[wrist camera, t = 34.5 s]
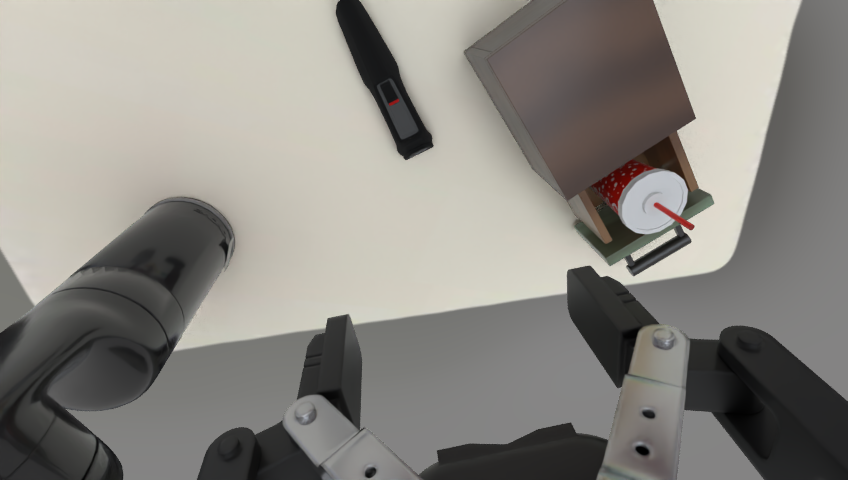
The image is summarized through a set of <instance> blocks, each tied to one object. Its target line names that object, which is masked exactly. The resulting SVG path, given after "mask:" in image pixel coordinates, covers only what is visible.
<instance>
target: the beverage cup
mask: <svg viewBox="0 0 848 480" xmlns="http://www.w3.org/2000/svg"><path fill="white" fill-rule="evenodd" d="M590 188H591V189H592V190H593V191H594V192H595V193H596V194H597V195H598V196H599V197H600V198H601V199H602V200H603V201H604V202H605V203H606V204H607V205H608V206H609V207H610V208H611V209H612V210H614V211H615V212H616V213H617V214H618V215H619V217H620V219H621V221H622V223H623V224H625V226H626V227H628V228H629V229H631V230H632V231H634V232H635V233H640V234H651V233H655V232H660V231H661V230H663V229H665V228H666V227H668V226H670V225H671V224H672V223H673V222H674V221H677V222H678V223H680V224H681V225H683V226H684V227H686V228H688V229H689V230H693V229H694V225H693V224H691V223H690V222H688V221H686V220H685V219H683V218H682V217H680V215H681V213H682V211H683V209H684V207H685V205H686V203H687V194H688V189H687V187H686V184H685V181H684V179H682V178H681V177H680V176H678V175H677V174H676V173H674V172H671V171H669V170H664V169H658V168H654V167H652V166H649V165H646V164H644V163H641V162H639V161H636V160H634V159H632V160H630V161H629V162H627V163H626V164H624V165H623V166H621V167H619V168H618V169H616V170H615V171H613V172H612V173H610V174H609V175H607V176H605V177H604V178H602V179H601V180H599V181H598V182H596V183H595V184H593V185H591V186H590Z"/></svg>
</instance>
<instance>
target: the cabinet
mask: <svg viewBox="0 0 848 480" xmlns="http://www.w3.org/2000/svg"><path fill="white" fill-rule="evenodd" d="M464 54H465V56H466V57H467V59H468V61H469V62H470V64H471V66H472V67H473V69H474V71H475V72H476V74H477V76H478V78H479V79H480V81H481V83H482V84H483V86H484V88H485V89H486V91H487V93H488V94H489V96H490V98H491V100H492V101H493V103H494V105H495V106H496V108H497V110H498V111H499V113H500V115H501V116H502V118H503V120H504V121H505V123H506V125H507V127H508V128H509V130H510V132H511V133H512V135H513V137H514V138H515V140H516V142H517V143H518V145H519V147H520V148H521V150H522V152H523V154H524V155H525V157H526V159H527V160H528V162H529V164H530V165H531V167H532V169H533V170H534V171H535V172H536V173H538V174H539V175H540V176H541V177H542V178H543V179H544V180H545V181H546V182H547V183H549V184H550V185H551V186H552V187H553V188H554V189H555V190H556V191H557V192H558V193H559V194H561V195H562V196H563V197H564V198H565V199H566V200H567V201H568V200H570V199H571V198H573V197H574V196H576V195H577V194H579V193H581V192H582V191H584V190H585V189H587V188H588V187H590V186H591V185H593V184H595V183H596V182H598V181H599V180H601V179H602V178H604V177H605V176H607V175H609V174H610V173H612V172H613V171H615V170H616V169H618V168H619V167H621V166H623V165H624V164H626V163H627V162H629V161H630V160H632V159H633V158H635V157H637V156H638V155H640V154H641V153H643V152H644V151H646V150H647V149H649V148H651V147H652V146H654V145H655V144H657V143H658V142H660V141H661V140H663V139H665V138H666V137H668V136H669V135H671V134H672V133H674V132H675V131H677V130H679V129H680V128H682V127H683V126H685V125H686V124H688V123H689V122H691V121H693V120H694V119H695V118H696V117H695V114H694V112H693V109H692V106H691V103H690V101H689V98H688V95H687V93H686V90H685V87H684V84H683V82H682V79H681V76H680V73H679V71H678V68H677V65H676V62H675V60H674V57H673V54H672V51H671V49H670V46H669V43H668V40H667V38H666V35H665V32H664V29H663V27H662V24H661V21H660V18H659V16H658V13H657V10H656V7H655V5H654V2H653V0H532V1H531V2H529V3H528V4H527V5H525V6H524V7H523V8H521V9H520V10H519V11H517V12H516V13H515V14H513V15H512V16H511V17H509V18H508V19H507V20H505V21H504V22H503V23H501V24H500V25H499V26H497V27H496V28H495V29H493V30H492V31H491V32H489V33H488V34H487V35H485V36H484V37H483V38H481V39H480V40H479V41H477V42H476V43H475V44H473V45H472V46H471V47H469V48H468V49H467V50H465V51H464Z"/></svg>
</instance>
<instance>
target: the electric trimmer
mask: <svg viewBox="0 0 848 480" xmlns="http://www.w3.org/2000/svg"><path fill="white" fill-rule="evenodd" d="M336 15H337V19H338V22H339V24H340V27H341V29H342V32H343V34H344V37H345V39H346V42H347V44H348V46H349V49H350V51H351V54H352V56H353V59H354V61H355V64H356V66H357V69H358V71H359V73H360V75H361V78H362V80H363V82H364V84H365V85H366V86H367V88H368V89H369V90H370V92H371V93H372V95H373V97H374V98H375V100H376V102H377V104H378V106H379V108H380V110H381V112H382V114H383V116H384V118H385V121H386V123H387V125H388V127H389V129H390V132H391V134H392V136H393V138H394V140H395V142H396V145H397V151H398V152H399V153H400V155H402V156H404V159H405V160H408V159H410V158H412V157H414V156H416V155H418V154H420V153H422V152H424V151H426V150H428V149H430V148H432V147H433V143H432V136H431V134H430V133H429V132H428V131H427V130H426V128H425V126H424V124H423V123H422V121H421V119H420V117H419V115H418V113H417V111H416V109H415V107H414V106H413V104H412V102H411V100H410V98H409V96H408V94H407V92H406V89H405V87H404V85H403V83H402V80H401V77H400V74H399V69H398V66H397V63H396V61H395V59H394V58H393V56H392V54H391V52H390V51H389V49H388V47H387V45H386V44H385V42H384V40H383V39H382V37H381V35H380V33H379V32H378V30H377V28H376V27H375V25H374V23H373V21H372V20H371V18H370V16H369V14H368V13H367V11H366V10H365V8H364V7H363V5H362V4H361V2H360V1H359V0H340V1H339V2H338V4H337V7H336Z"/></svg>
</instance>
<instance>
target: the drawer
mask: <svg viewBox="0 0 848 480" xmlns="http://www.w3.org/2000/svg"><path fill="white" fill-rule="evenodd" d="M633 159H634V160H636V161H639V162H641V163H644V164H646V165H649V166H652V167H654V168H658V169H664V170H669V171H671V172H674V173H676V174H677V175H678V176H680V177H681V178H682V179H684V181H685V184H686V187H687V189H688V194H687V203H686V205H685V207H684V209H683V211H682V213H681V215H680V217H682V218H683V219H685V220H688V219H690V218H691V217H693V216H695V215H696V214H698V213H700V212H701V211H703V210H705V209H706V208H708V207H710V206H711V205H713V204H714V201H713V199H712V196H711V195H710V194H709V193H707V192H705V191H703V190H701V189H699V187H698V185H697V182H696V179H695V177H694V174H693V172H692V169H691V167H690V164H689V162H688V159H687V157H686V154H685V151H684V149H683V146H682V144H681V141H680V139H679V136H678V134H677V131H675V132H674V133H672V134H671V135H669V136H668V137H666V138H665V139H663V140H661V141H660V142H658V143H657V144H655V145H654V146H652V147H651V148H649V149H647V150H646V151H644V152H643V153H641V154H640V155H638V156H637V157H635V158H633ZM567 202H568V203H569V205H570V207H571V209H572V210H573V212H574V214H575V216H576V217H577V218H579V219H580V220H581V221H582V222H580V223H579V224H577V225H575V226H574V227H575V229H576V231H577V232H578V234H579V235H580V236H581V237H582V238H583V239H584V240H585V241H586V242H587V243H588V244H589V245H590V246H591V247H592V248H593V249H594V250H595V251H596V252H597V253H598V254H599V255H600V256H601V257H602V258H603V259H604V260H605V262H606V263H607V264H608V265H609V266H611V265H613V264H615V263H616V262H618V261H620V260H621V259H623V258H625V260H626V262H627V264H628V265H627V266H626V267H627V269H628V271H629V272H630V273H631V275H633V276H635V275H637V274H639V273H640V272H642V271H644V270H645V269H647V268H649V267H651V266H652V265H654V264H656V263H657V262H659V261H661V260H662V259H664V258H666V257H667V256H669V255H671V254H673V253H674V252H676V251H678V250H679V249H681V248H683V247H684V246H686V245H688V244H690V243H691V239H690V237H689V236H688V235H687V234H686V233H684V232H683V229H682V227H681V225H680V223H678V222H677V221H674V222H673V223H672V224H671V225H670V226H668V227H666V228H665V229H663V230H661V231H660V232H655V233H651V234H640V233H635V232H634V231H632V230H631V229H629V228H628V227H626V226H625V224H623V223H622V221H621V219H620V217H619V215H618V214H617V213H616V212H615V211H614V210H612V209H611V208H610V207H609V206H608V205H607V206H606V207H604V208H602V209H601V210H599V211H598V212H597V210H596V207H597V206H599V205H600V204H602V203H604V201H603V200H602V199H601V198H600V197H599V196H598V195H597V194H596V193H595V192H594V191H593V190H592V189H591V188H590V187H588V188H587V189H585V190H584V191H582V192H581V193H579V194H577V195H576V196H574V197H573V198H571V199H570V200H568V201H567ZM673 228H674V230H675V232H676V234H677V236H675V237H674V238H672V239H670V240H669V241H667V242H665V243H664V244H662V245H660V246H659V247H657V248H655V249H654V250H652V251H650V252H649V253H647V254H645V255H644V256H642V257H640V258H639V259H637V260H635V261H633V259H632V257H631V255H630V254H631V253H633V252H635V251H636V250H638V249H640V248H641V247H643V246H645V245H646V244H648V243H650V242H651V241H653V240H655V239H656V238H658V237H660V236H661V235H663V234H665V233H666V232H668V231H670V230H671V229H673Z"/></svg>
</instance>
